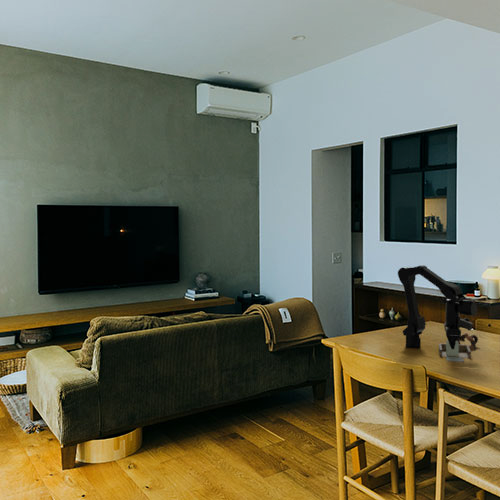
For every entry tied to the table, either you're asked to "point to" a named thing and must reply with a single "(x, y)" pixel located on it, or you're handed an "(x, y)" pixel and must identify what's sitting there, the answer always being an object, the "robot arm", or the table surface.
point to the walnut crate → (463, 351)
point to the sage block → (452, 351)
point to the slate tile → (454, 359)
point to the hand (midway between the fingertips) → (452, 346)
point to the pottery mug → (469, 338)
